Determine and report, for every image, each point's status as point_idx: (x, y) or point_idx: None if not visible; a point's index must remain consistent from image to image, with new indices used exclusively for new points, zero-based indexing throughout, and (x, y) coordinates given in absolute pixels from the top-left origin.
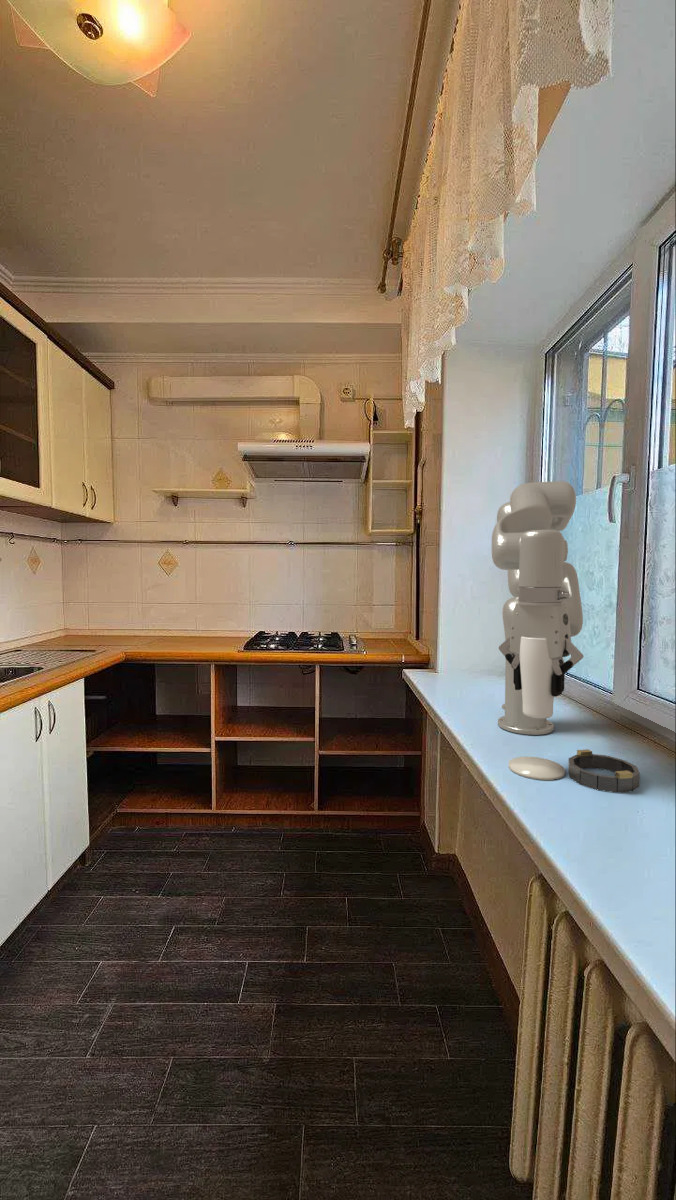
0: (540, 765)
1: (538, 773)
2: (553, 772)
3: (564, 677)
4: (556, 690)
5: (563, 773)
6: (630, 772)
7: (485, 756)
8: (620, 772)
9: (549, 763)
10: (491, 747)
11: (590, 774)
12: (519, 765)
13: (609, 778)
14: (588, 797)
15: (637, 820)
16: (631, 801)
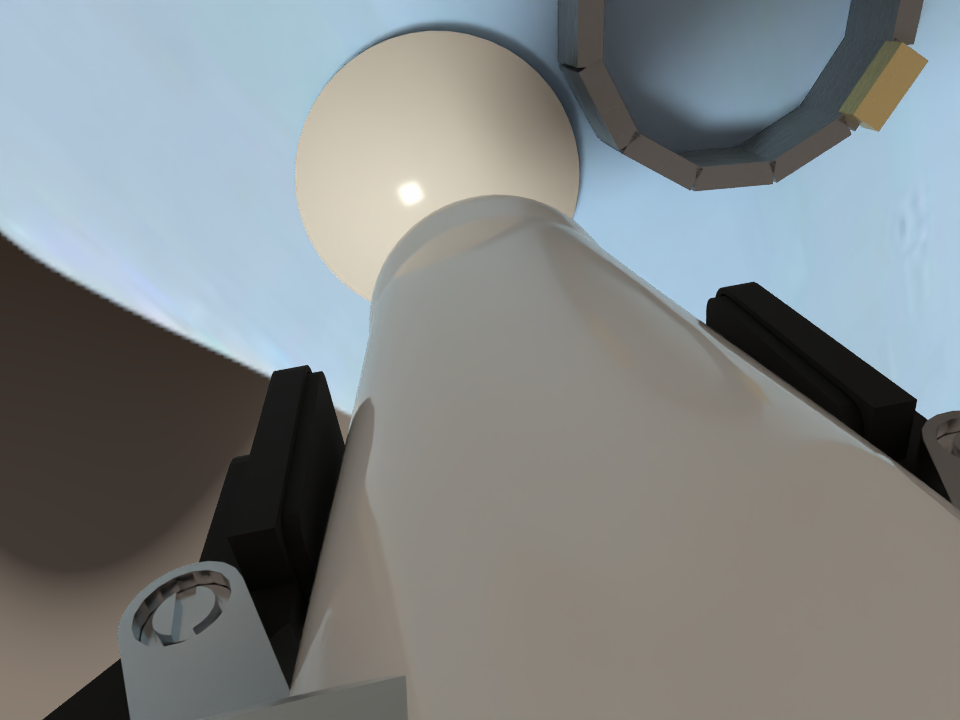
0: (446, 157)
1: None
2: (540, 188)
3: (922, 417)
4: None
5: (577, 156)
6: (919, 60)
7: (159, 252)
8: (876, 103)
9: (460, 88)
10: (40, 95)
11: (739, 186)
12: (382, 250)
13: (819, 154)
14: (733, 264)
15: (908, 292)
16: (873, 155)
